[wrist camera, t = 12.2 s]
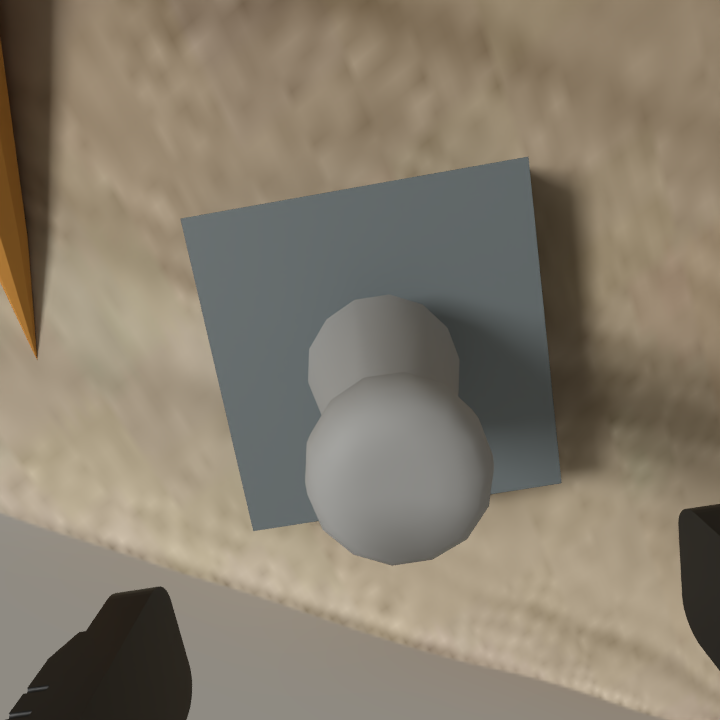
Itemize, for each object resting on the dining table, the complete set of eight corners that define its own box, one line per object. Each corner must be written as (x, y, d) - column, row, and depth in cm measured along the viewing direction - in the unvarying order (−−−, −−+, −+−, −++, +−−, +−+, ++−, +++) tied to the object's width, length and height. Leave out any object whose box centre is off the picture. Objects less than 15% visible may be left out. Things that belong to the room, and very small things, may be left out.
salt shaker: (404, 444, 26) (444, 656, 13) (288, 381, 25) (216, 541, 13) (475, 330, 25) (593, 443, 12) (356, 261, 24) (350, 306, 12)
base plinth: (509, 163, 26) (528, 156, 23) (541, 457, 29) (561, 483, 26) (200, 218, 27) (180, 218, 24) (264, 500, 30) (253, 530, 27)
